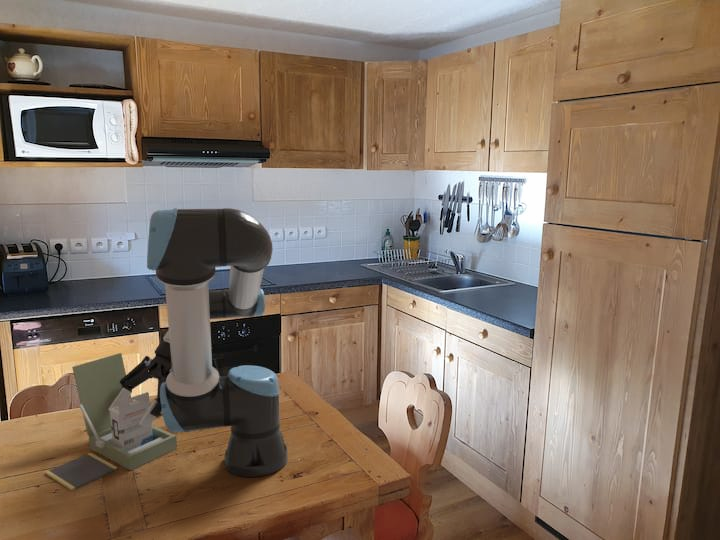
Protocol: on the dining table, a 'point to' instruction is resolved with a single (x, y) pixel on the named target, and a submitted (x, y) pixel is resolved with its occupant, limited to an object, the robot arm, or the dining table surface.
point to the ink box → (130, 423)
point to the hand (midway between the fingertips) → (127, 419)
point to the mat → (81, 471)
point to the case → (96, 397)
